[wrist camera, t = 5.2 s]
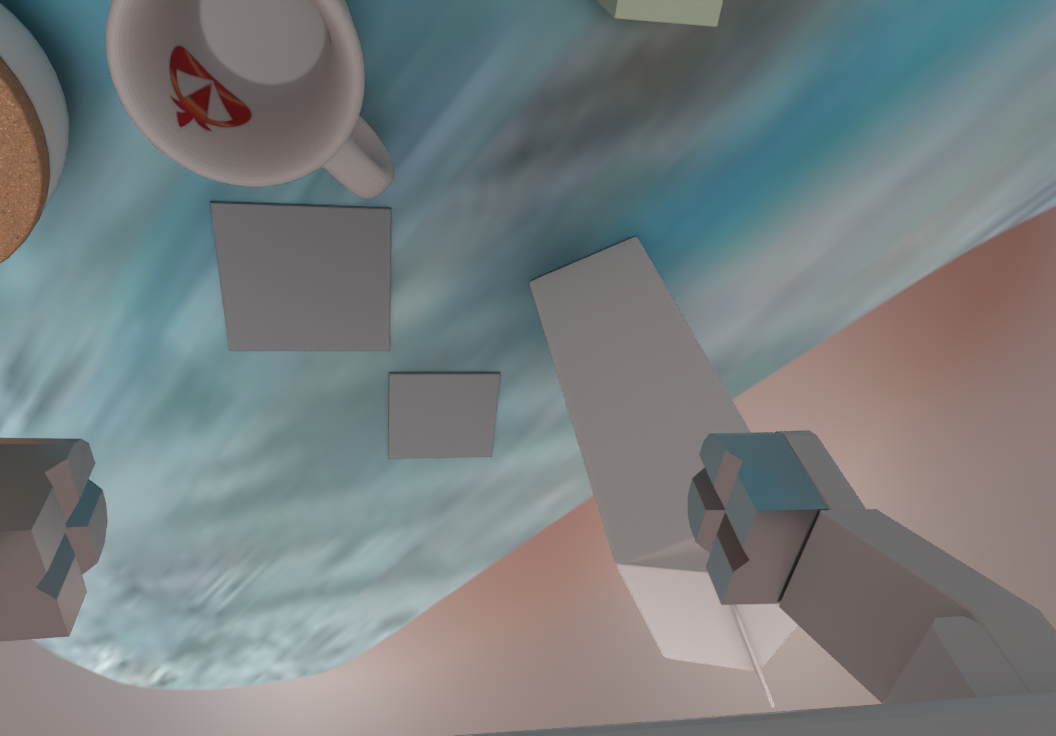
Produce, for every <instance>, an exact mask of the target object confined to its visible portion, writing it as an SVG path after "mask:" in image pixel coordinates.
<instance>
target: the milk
mask: <svg viewBox="0 0 1056 736" xmlns="http://www.w3.org/2000/svg"><path fill="white" fill-rule="evenodd" d="M530 287H531V290H532V293H533V296H534V300H535V303H536V306H537V310H538V313H539V316H540V319H541V323H542V326H543V329H544V333H545V336H546V339H547V342H548V346H549V349H550V352H551V356H552V359H553V362H554V365H555V369H556V372H557V375H558V378H559V382H560V385H561V388H562V392H563V395H564V398H565V401H566V405H567V408H568V411H569V415H570V418H571V421H572V424H573V428H574V431H575V434H576V438H577V441H578V444H579V447H580V451H581V454H582V457H583V460H584V464H585V467H586V470H587V474H588V477H589V480H590V483H591V487H592V490H593V493H594V497H595V500H596V503H597V506H598V510H599V513H600V516H601V519H602V523H603V526H604V529H605V532H606V536H607V539H608V542H609V546H610V549H611V552H612V556H613V559H614V562H615V565H616V567H617V569H618V571H619V573H620V574H621V577H622V578H623V580H624V582H625V584H626V586H627V588H628V590H629V592H630V594H631V596H632V598H633V599H634V601H635V603H636V605H637V607H638V609H639V611H640V613H641V615H642V617H643V618H644V620H645V622H646V624H647V626H648V628H649V630H650V632H651V634H652V636H653V638H654V639H655V641H656V644H657V645H658V647H659V649H660V651H661V653H662V655H663V656H664V657H666V658H669V659H676V660H682V661H689V662H695V663H702V664H709V665H715V666H722V667H728V668H735V669H742V670H748V671H754V672H756V673H757V675H758V677H759V679H760V682H761V684H762V686H763V689H764V691H765V693H766V696H767V698H768V700H769V702H770V705H771V707H775V705H774V702H773V700H772V697H771V695H770V692H769V690H768V687H767V684H766V682H765V679H764V677H763V674H762V672H761V668H762V667H763V666H764V664H765V663H766V662H767V661H768V660H769V659H770V657H771V656H772V655H773V654H774V653H775V651H776V650H777V649H778V648H779V647H780V645H781V644H782V643H783V642H784V641H785V640H786V638H787V637H788V636H789V635H790V634H791V632H792V631H793V630H794V629H795V628H796V626H797V625H798V624H797V623H796V622H795V621H794V620H792V619H791V618H790V617H789V616H788V615H787V614H786V613H785V612H784V611H783V610H782V609H781V608H780V607H779V604H740V605H721V603H720V600H719V598H718V595H717V593H716V590H715V588H714V586H713V583H712V581H711V578H710V576H709V574H708V571H707V569H706V565H707V562H708V559H709V556H710V553H709V552H708V551H706V550H705V549H704V548H702V547H701V546H700V545H699V544H697V543H696V542H695V539H694V536H693V534H692V531H691V529H690V524H689V519H688V492H689V488H690V485H691V481H692V478H693V477H694V476H695V475H696V474H697V473H699V472H700V471H701V470H702V469H703V468H704V464H703V462H702V460H701V458H700V456H699V454H700V451H701V447H702V444H703V441H704V440H705V438H706V437H707V436H708V434H709V433H751V432H750V431H749V429H748V427H747V425H746V424H745V422H744V420H743V418H742V417H741V415H740V413H739V411H738V410H737V408H736V406H735V405H734V403H733V401H732V399H731V398H730V396H729V394H728V393H727V391H726V389H725V387H724V386H723V384H722V382H721V380H720V379H719V377H718V375H717V374H716V372H715V370H714V368H713V367H712V365H711V363H710V362H709V360H708V358H707V356H706V355H705V353H704V351H703V349H702V348H701V346H700V344H699V343H698V341H697V339H696V337H695V336H694V334H693V332H692V330H691V329H690V327H689V325H688V324H687V322H686V320H685V318H684V317H683V315H682V313H681V312H680V310H679V308H678V306H677V305H676V303H675V301H674V299H673V298H672V296H671V294H670V293H669V291H668V289H667V287H666V286H665V284H664V282H663V281H662V279H661V277H660V275H659V274H658V272H657V270H656V268H655V267H654V265H653V263H652V262H651V260H650V258H649V256H648V255H647V253H646V251H645V250H644V248H643V246H642V244H641V243H640V241H639V239H638V238H637V237H633V238H630V239H628V240H626V241H623V242H621V243H619V244H616V245H614V246H612V247H609V248H607V249H605V250H602V251H600V252H598V253H595V254H593V255H591V256H588V257H586V258H584V259H581V260H579V261H576V262H574V263H572V264H569V265H567V266H565V267H562V268H560V269H558V270H555V271H553V272H551V273H548V274H546V275H544V276H541V277H539V278H537V279H534V280H532V281H530Z"/></svg>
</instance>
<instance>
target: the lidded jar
mask: <svg viewBox="0 0 1056 736" xmlns="http://www.w3.org/2000/svg"><path fill="white" fill-rule="evenodd" d="M68 142H69V115H68V111H67V106H66V101H65V97H64V93H63V90H62V88H61V85H60V83H59V80H58V77H57V75H56V72H55V70H54V68H53V66H52V64H51V62H50V61H49V59H48V57H47V55H46V53H45V52H44V50H43V49H42V47H41V46H40V45H39V43H38V42H37V41H36V39H35V38H34V36H33V35H32V34H31V32H30V31H29V30H28V29H27V28H26V27H25V26H24V25H23V24H22V23H21V22H20V20H19V19H18V18H17V17H16V16H15V15H14V14H13V13H12V12H11V11H9V10H8V9H7V8H6V7H5V6H3V5H2V4H1V3H0V263H2V262H3V261H5V260H6V259H8V258H9V257H10V256H11V255H12V254H13V253H14V252H15V251H16V250H17V249H18V248H19V247H20V246H21V245H22V244H23V243H24V241H25V240H26V239H27V237H28V236H29V235H30V233H31V231H32V230H33V228H34V227H35V225H36V223H37V222H38V220H39V219H40V217H41V214H42V211H43V210H44V208H45V207H46V205H47V204H48V202H49V200H50V199H51V197H52V196H53V194H54V192H55V190H56V187H57V185H58V182H59V180H60V177H61V174H62V172H63V169H64V166H65V163H66V156H67V149H68Z"/></svg>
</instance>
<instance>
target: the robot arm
mask: <svg viewBox="0 0 1056 736" xmlns="http://www.w3.org/2000/svg"><path fill="white" fill-rule="evenodd" d="M699 456H700V458H701V460H702V462H703V464H704V468H703V469H702V470H701V471H700V472H699V473H697V474H696V475H695V476H694V477H693V478H692V481H691V485H690V488H689V492H688V519H689V524H690V529H691V531H692V534H693V536H694V539H695V542H696V543H697V544H699V545H700V546H701V547H702V548H704V549H705V550H706V551H708V552H709V553H710V556H709V559H708V562H707V565H706V569H707V571H708V574H709V576H710V578H711V581H712V583H713V586H714V588H715V590H716V593H717V595H718V598H719V600H720V603H721V605H740V604H779V607H780V608H781V609H782V610H783V611H784V612H785V613H786V614H787V615H788V616H789V617H790V618H791V619H792V620H794V621H795V622H796V623H797V624H798V625H799V626H800V627H801V628H802V629H803V630H804V631H805V632H806V633H807V634H809V635H810V636H811V637H812V638H813V639H814V640H815V641H816V642H817V643H818V644H819V645H820V646H821V647H822V648H823V649H825V650H826V651H827V652H828V653H829V654H830V655H831V656H832V657H833V658H834V659H835V660H836V661H837V662H838V663H840V664H841V665H842V666H843V667H844V668H845V669H846V670H847V671H848V672H849V673H850V674H851V675H852V676H853V677H854V678H856V679H857V680H858V681H859V682H860V683H861V684H862V685H863V686H864V687H865V688H866V689H867V690H868V691H869V692H871V693H872V694H873V695H874V696H875V697H876V698H877V699H878V700H879V701H880V702H881V703H882V704H876V705H863V706H849V707H835V708H822V709H809V710H796V711H795V710H794V711H781V712H768V713H754V714H740V715H726V716H715V717H714V716H713V717H700V718H686V719H673V720H659V721H647V722H634V723H619V724H606V725H592V726H579V727H565V728H552V729H539V730H526V731H511V732H497V733H484V734H471V735H456V736H1056V631H1055V629H1054V628H1053V627H1052V625H1051V624H1050V623H1049V622H1048V621H1047V619H1046V618H1045V617H1044V615H1043V614H1042V613H1041V611H1040V610H1038V609H1037V608H1035V607H1034V606H1032V605H1030V604H1029V603H1027V602H1025V601H1024V600H1022V599H1020V598H1019V597H1017V596H1015V595H1014V594H1013V593H1011V592H1009V591H1008V590H1006V589H1005V588H1003V587H1001V586H1000V585H998V584H996V583H995V582H993V581H992V580H990V579H988V578H987V577H985V576H983V575H982V574H980V573H979V572H977V571H975V570H973V569H972V568H971V567H969V566H967V565H966V564H964V563H962V562H961V561H959V560H957V559H956V558H954V557H952V556H951V555H950V554H948V553H946V552H945V551H943V550H941V549H940V548H938V547H937V546H935V545H933V544H932V543H930V542H929V541H927V540H925V539H923V538H922V537H920V536H919V535H917V534H915V533H914V532H912V531H911V530H909V529H907V528H906V527H904V526H902V525H901V524H899V523H898V522H896V521H894V520H893V519H891V518H890V517H888V516H886V515H885V514H883V513H882V512H880V511H878V510H877V509H871V510H870V509H866V508H865V506H864V505H863V504H862V502H861V500H860V499H859V498H858V496H857V495H856V493H855V492H854V490H853V489H852V487H851V486H850V484H849V483H848V481H847V480H846V478H845V477H844V475H843V474H842V472H841V471H840V469H839V468H838V466H837V465H836V463H835V462H834V460H833V459H832V457H831V456H830V454H829V453H828V451H827V450H826V448H825V447H824V445H823V444H822V442H821V441H820V439H819V438H818V436H817V435H815V434H814V433H812V432H811V431H778V432H777V431H776V432H775V433H773V432H763V433H709V434H708V436H707V437H706V438H705V440H704V441H703V444H702V447H701V451H700V454H699ZM94 465H95V461H94V458H93V455H92V452H91V449H90V446H89V443H88V442H86V441H84V440H82V439H52V438H0V641H12V640H25V639H40V638H53V637H67V636H70V633H71V631H72V628H73V625H74V623H75V620H76V618H77V615H78V613H79V610H80V607H81V605H82V602H83V600H84V597H85V595H86V592H87V591H86V587H85V584H84V581H83V578H82V574H84V573H85V572H86V571H88V570H89V569H90V568H91V567H93V566H94V565H95V564H97V563H98V560H99V558H100V555H101V552H102V549H103V546H104V543H105V535H106V528H107V509H106V502H105V498H104V494H103V490H102V489H101V488H100V487H99V486H97V485H96V484H95V483H93V482H92V481H91V480H89V476H90V474H91V472H92V469H93V467H94Z"/></svg>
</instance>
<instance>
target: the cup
mask: <svg viewBox="0 0 1056 736" xmlns="http://www.w3.org/2000/svg"><path fill="white" fill-rule="evenodd" d="M105 42H106V55H107V62H108V67H109V71H110V75H111V78H112V81H113V84H114V87H115V89H116V92H117V94H118V96H119V98H120V100H121V102H122V104H123V106H124V108H125V109H126V111H127V113H128V114H129V116H130V117H131V119H132V120H133V122H134V123H135V124H136V126H137V127H138V128H139V130H140V131H141V132H142V133H143V134H144V135H145V136H146V137H147V138H148V140H149V141H151V142H152V143H153V144H154V145H155V146H156V147H157V148H158V149H159V150H160V151H162V152H163V153H164V154H165V155H167V156H168V157H169V158H171V159H172V160H174V161H175V162H177V163H178V164H180V165H181V166H183V167H185V168H187V169H189V170H190V171H192V172H195V173H197V174H199V175H201V176H204V177H206V178H209V179H212V180H215V181H219V182H222V183H226V184H232V185H237V186H248V187H262V186H273V185H279V184H284V183H288V182H291V181H294V180H297V179H299V178H302V177H304V176H306V175H308V174H310V173H312V172H314V171H315V170H317V169H319V168H320V167H323V168H324V169H325V170H327V171H328V172H329V173H330V174H331V175H332V176H333V177H334V178H336V179H337V180H338V181H339V182H340V183H341V184H342V185H344V186H345V187H346V188H347V189H349V190H350V191H351V192H353V193H354V194H356V195H358V196H360V197H363V198H372V197H375V196H377V195H379V194H380V193H381V192H383V191H384V190H385V189H386V188H387V187H388V186H389V185H390V184H391V182H392V180H393V178H394V168H393V163H392V160H391V158H390V155H389V153H388V151H387V149H386V148H385V146H384V144H383V143H382V141H381V140H380V138H379V137H378V136H377V134H376V133H375V132H374V131H373V129H372V128H371V127H370V126H369V125H368V124H367V123H366V121H365V120H364V119H363V118H362V117H361V116H360V115H359V114H360V111H361V107H362V103H363V97H364V90H365V68H364V59H363V54H362V49H361V45H360V41H359V38H358V35H357V32H356V29H355V26H354V23H353V20H352V17H351V14H350V12H349V9H348V6H347V3H346V0H112V2H111V5H110V9H109V13H108V18H107V24H106V34H105Z"/></svg>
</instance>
